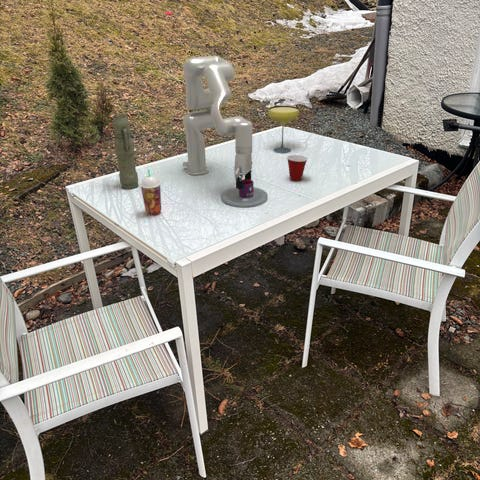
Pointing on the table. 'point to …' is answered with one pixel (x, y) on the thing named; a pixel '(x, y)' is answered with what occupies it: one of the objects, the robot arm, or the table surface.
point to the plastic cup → (296, 166)
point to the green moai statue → (125, 153)
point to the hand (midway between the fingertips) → (243, 184)
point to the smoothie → (151, 194)
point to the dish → (235, 200)
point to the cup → (246, 189)
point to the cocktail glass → (283, 120)
